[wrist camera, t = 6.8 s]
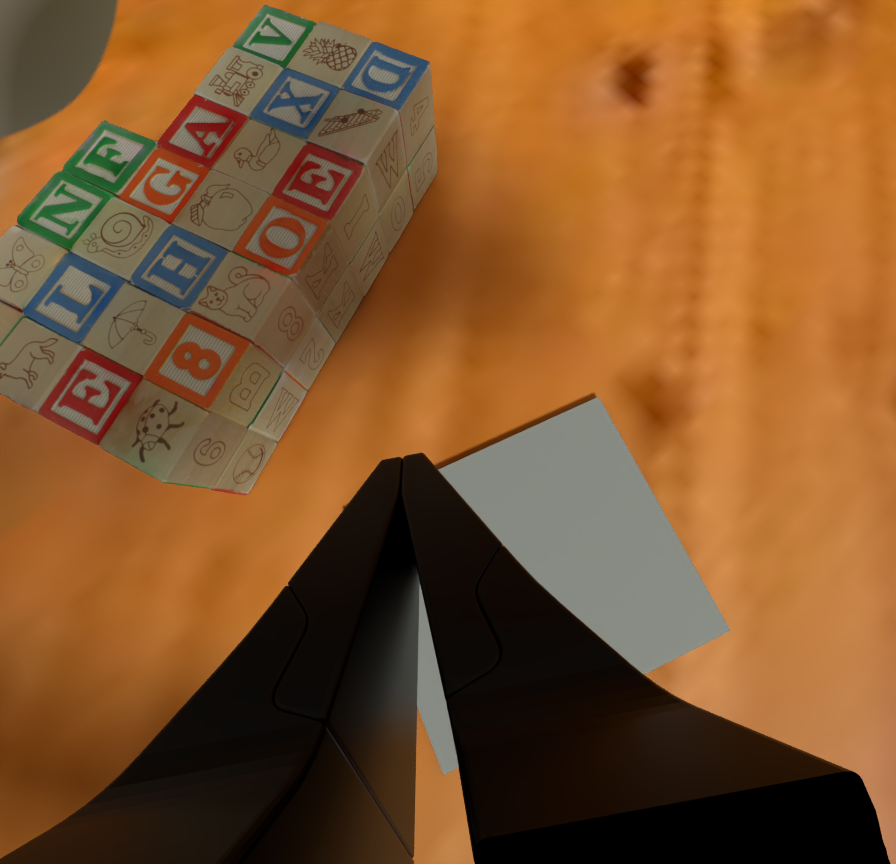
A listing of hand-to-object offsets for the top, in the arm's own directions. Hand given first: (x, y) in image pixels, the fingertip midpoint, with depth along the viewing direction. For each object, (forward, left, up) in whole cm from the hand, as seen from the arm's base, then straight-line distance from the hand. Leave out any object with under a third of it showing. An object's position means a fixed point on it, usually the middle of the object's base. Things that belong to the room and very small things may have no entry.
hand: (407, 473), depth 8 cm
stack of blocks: (+11, 0, -9) cm, 14 cm away
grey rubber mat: (-4, -3, -12) cm, 14 cm away
